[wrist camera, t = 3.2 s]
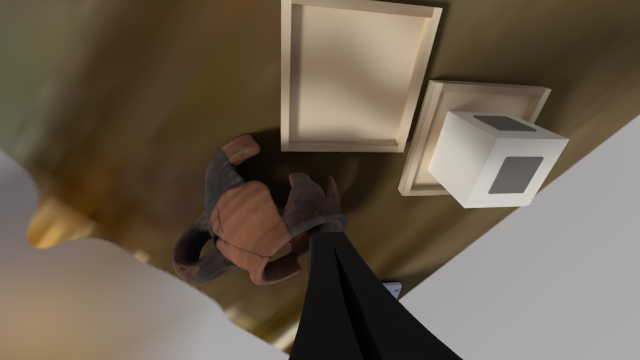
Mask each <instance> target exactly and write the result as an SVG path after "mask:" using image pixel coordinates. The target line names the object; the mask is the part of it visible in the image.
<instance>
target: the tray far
mask: <svg viewBox="0 0 640 360" xmlns="http://www.w3.org/2000/svg"><path fill="white" fill-rule="evenodd" d="M551 90H552V89H548V88H545V87H541V86H528V85H511V84H494V83H477V82H460V81H443V80H429V81H428V85H427V88H426V92H425V95H424V99H423V102H422V106H421V109H420V113H419V116H418V120H417V123H416V127H415V131H414V134H413V138H412V141H411V145H410V148H409V152H408V155H407V159H406V162H405V166H404V169H403V173H402V176H401V180H400V183H399V187H398V190H399V191H400V193H401V194H402V196H416V195H451V194H450V193H449V192H448V191H447V190H446V189H445V188H444V187H443V186H442V185H441V184H440V183H439V182H438V181H437V180H436V179H435V178H434V176H433V175H432V174H431V173H430V172H429V171H428V168H429V165H430V162H431V159H432V156H433V153H434V150H435V148H436V145H437V142H438V139H439V136H440V133H441V130H442V127H443V124H444V121H445V118H446V115H447V112H448V111H465V112H492V113H508V114H511V115H513V116H515V117H518V118H520V119H523V120H525V121H527V122H530V123H532V124H534V122H535V121H536V119H537V117H538V115H539V113H540V111H541V109H542V107H543V105H544V104H545V102H546V100H547V98H548V96H549V94H550V92H551Z"/></svg>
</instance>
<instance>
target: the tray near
mask: <svg viewBox="0 0 640 360" xmlns="http://www.w3.org/2000/svg"><path fill="white" fill-rule="evenodd" d="M442 9H443V8H436V7H427V6H418V5H409V4H400V3H390V2H381V1H372V0H281V151H304V152H404V148H405V144H406V141H407V137H408V133H409V130H410V126H411V122H412V119H413V115H414V111H415V108H416V104H417V100H418V97H419V93H420V89H421V86H422V82H423V78H424V75H425V71H426V67H427V64H428V60H429V56H430V53H431V49H432V45H433V42H434V38H435V34H436V31H437V27H438V23H439V20H440V16H441V12H442Z"/></svg>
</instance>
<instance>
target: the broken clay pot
mask: <svg viewBox="0 0 640 360" xmlns="http://www.w3.org/2000/svg"><path fill="white" fill-rule="evenodd" d="M259 153H260V147H259V145H258V143H257V142H255V141H254V139H253V138H252V136H251V135H250V134H245V135H242V136H239V137H237V138H235V139H233V140H231V141H230V142H228V143H227V144H226V145H224V146H223V147H222V148H221V149H219V150H218V151H217V152H216V153H215V155H214V156H213V157H212V158H211V160H210V161H209V164H208V166H207V168H206V172H205V183H206V185H205V195H204V207H203V212H202V214H201V215H200V216H199V218H198V219H197V220H195V221H194V222H193V223H192V224H191V225H190V226H189V227H188V228H187V229H186V230H185V232H184V233H183V234H182V235H181V237H180V238H179V240H178V242H177V243H176V245H175V248H174V251H173V256H172V261H173V268H174V269H175V271H176V274H177V275H178V276H179V277H180V278H181V279H183V280H185V281H188V282H194V283H203V282H207V281H209V280H212V279H214V278H216V277H218V276H220V275H222V274H224V273H226V272H228V271H231V270H239V269H241V268H242V269H243V270H248V271H249V273H250V277H251V279H252V281H253V282H254V283H256V284H260V285H268V284H273V283H276V282H279V281H281V280H284V279H287V278H289V277H291V276H293V275H295V274H297V273H298V272H300V271H301V267H300V265H299V263H298V261H297V259H299V258H300V257H302V256H303V255H304V254H306V253H307V252H308V251H309V241H310V235H311V234H312V233H324V232H341V231H343V232H344V231H345V229H346V227H347V222H348V217H347V216H346V214H344V213H343V212H342V211H341V210H340V195H339V192H338V189H337V185H336V183H335V181H334V179H333V177H332V176H329V177H328V179H327V180H328V187H327V191H326V194H324V191H323V190H322V189H321V187H320V186H319V185H318V184H316V183H315V182H313V181H312V180H311V179H310V177H309V176H308V175H307V174H305V173H291V174H290V175H289V181H290V184H291V186H292V189H291V190H290V195H289V198H288V202H287V205H286V206H285V208H284V211H283V213H282V214H281V213H280V212H279V210H278V208H277V206H276V205H275V203H274V200H273V198H272V196H271V193H270V190H269V188H268V187H267V186H266V185H264V184H263V183H262V182H259V181H256V180H254V181H249V182H245V181H244V179H243V178H242V177H241V176H240V175H239V174H238V173H237V171H236V166H238V165H239V164H241V163H242V162H243V161H245V160H247V159H248V158H251V157H252V156H255V155H257V154H259ZM311 227H313V228H311ZM309 228H311V229H309ZM307 229H309V230H308V231H307ZM210 239H212V242H211V245H210V248H209V250H208V251H207V253H206V254H205V255H204V256H203V257H202V258H201V259H200V260H199V256H200V252H201V250H202V248H203V246H204V245H205V243H206V242H207V241H208V240H210ZM286 243H287V244H289V246H290V247H291V250H292V252H290V253H289V254H287V255H285V256H283V257H281V258H279V259H277V260H275V261H273V262H268V261H269V260H270V258H271V256H272V255H274V254H275V253H276V252H277V251H278V250H279V249H280V248H281V247H282V246H283V245H285V244H286Z"/></svg>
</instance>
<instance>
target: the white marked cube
mask: <svg viewBox="0 0 640 360" xmlns="http://www.w3.org/2000/svg"><path fill="white" fill-rule="evenodd" d="M569 140H570V139H567V138H565V137H563V136H560V135H558V134H555V133H553V132H551V131H548V130H546V129H544V128H541V127H539V126H537V125H534V124H532V123H530V122H527V121H525V120H523V119H520V118H518V117H515V116H513V115H511V114H508V113H492V112H465V111H448V112H447V115H446V118H445V121H444V124H443V127H442V130H441V133H440V136H439V139H438V142H437V145H436V148H435V150H434V153H433V156H432V159H431V162H430V165H429V168H428V171H429V172H430V173H431V174H432V175H433V176H434V178H435V179H436V180H437V181H438V182H439V183H440V184H441V185H442V186H443V187H444V188H445V189H446V190H447V191H448V192H449V193H450V194H451V195H452V196H453V197H454V198H455V199H456V200H457V201H458V202H459V203H460V204H461V205H462V206H463V207H464V208H481V207H511V206H528V205H529V204H530V202H531V201H532V199H533V198H534V196H535V194H536V193H537V191H538V190H539V188H540V186H541V185H542V183H543V181H544V180H545V178H546V177H547V175H548V173H549V172H550V170H551V169H552V167H553V165H554V164H555V162H556V161H557V159H558V157H559V156H560V154H561V153H562V151H563V149H564V148H565V146H566V145H567V143H568V141H569Z"/></svg>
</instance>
